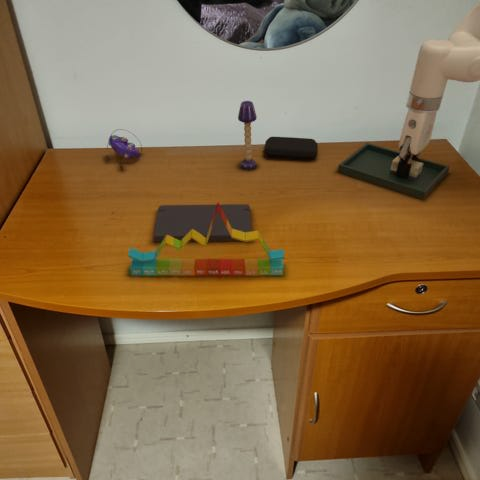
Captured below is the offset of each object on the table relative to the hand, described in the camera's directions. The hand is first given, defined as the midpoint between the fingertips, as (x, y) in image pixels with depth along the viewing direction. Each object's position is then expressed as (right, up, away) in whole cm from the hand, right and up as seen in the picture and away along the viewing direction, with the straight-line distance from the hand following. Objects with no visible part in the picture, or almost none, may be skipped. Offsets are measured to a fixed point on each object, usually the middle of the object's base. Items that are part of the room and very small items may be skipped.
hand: (405, 173), depth 125 cm
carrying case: (-29, +9, +11) cm, 32 cm away
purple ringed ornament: (-75, +5, +7) cm, 76 cm away
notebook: (-51, -17, -16) cm, 56 cm away
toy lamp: (-41, +3, +5) cm, 41 cm away
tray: (-3, +1, +2) cm, 4 cm away
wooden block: (0, 0, 0) cm, 0 cm away
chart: (-50, -29, -27) cm, 63 cm away
